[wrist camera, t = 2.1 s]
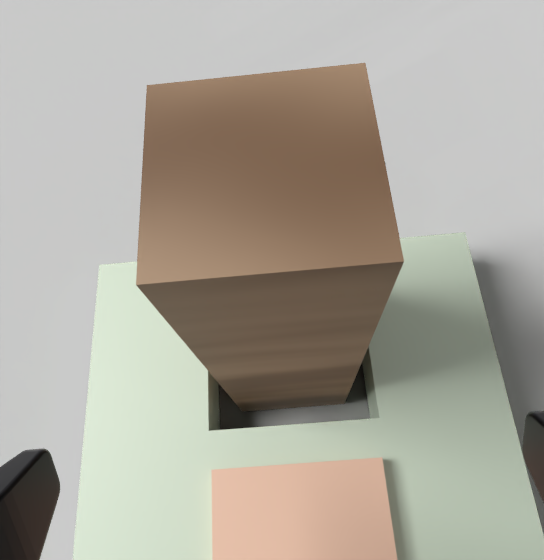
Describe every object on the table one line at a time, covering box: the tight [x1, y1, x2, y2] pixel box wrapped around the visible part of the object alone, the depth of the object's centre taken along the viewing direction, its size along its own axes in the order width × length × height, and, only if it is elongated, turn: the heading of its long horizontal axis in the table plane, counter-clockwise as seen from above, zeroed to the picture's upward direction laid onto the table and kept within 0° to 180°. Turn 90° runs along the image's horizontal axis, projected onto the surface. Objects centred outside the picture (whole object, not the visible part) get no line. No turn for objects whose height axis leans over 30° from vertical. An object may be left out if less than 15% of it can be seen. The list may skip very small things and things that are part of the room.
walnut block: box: [136, 63, 404, 412], centre depth 15 cm, size 4×4×14 cm
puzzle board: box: [73, 232, 544, 560], centre depth 18 cm, size 16×16×4 cm
